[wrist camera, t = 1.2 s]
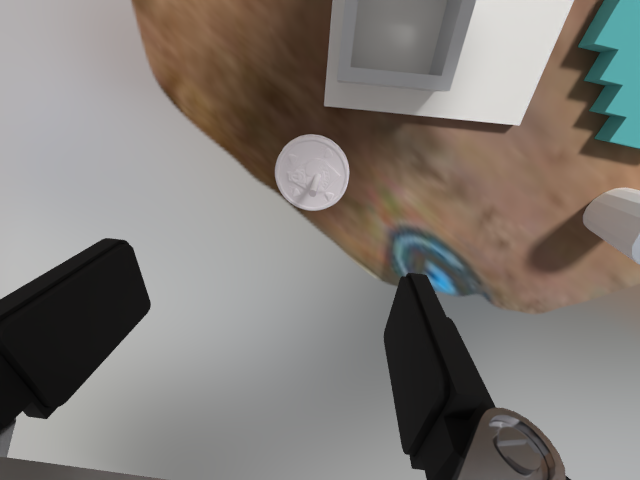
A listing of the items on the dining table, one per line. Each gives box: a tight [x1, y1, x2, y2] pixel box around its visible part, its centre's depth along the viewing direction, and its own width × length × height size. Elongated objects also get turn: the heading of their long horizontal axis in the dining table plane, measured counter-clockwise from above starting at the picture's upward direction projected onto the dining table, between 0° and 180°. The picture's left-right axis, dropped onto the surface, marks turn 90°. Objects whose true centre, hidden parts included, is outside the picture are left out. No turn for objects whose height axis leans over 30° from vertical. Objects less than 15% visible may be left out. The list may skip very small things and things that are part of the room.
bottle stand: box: [324, 0, 574, 126], centre depth 21 cm, size 14×20×5 cm
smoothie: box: [275, 134, 350, 211], centre depth 24 cm, size 6×6×14 cm
